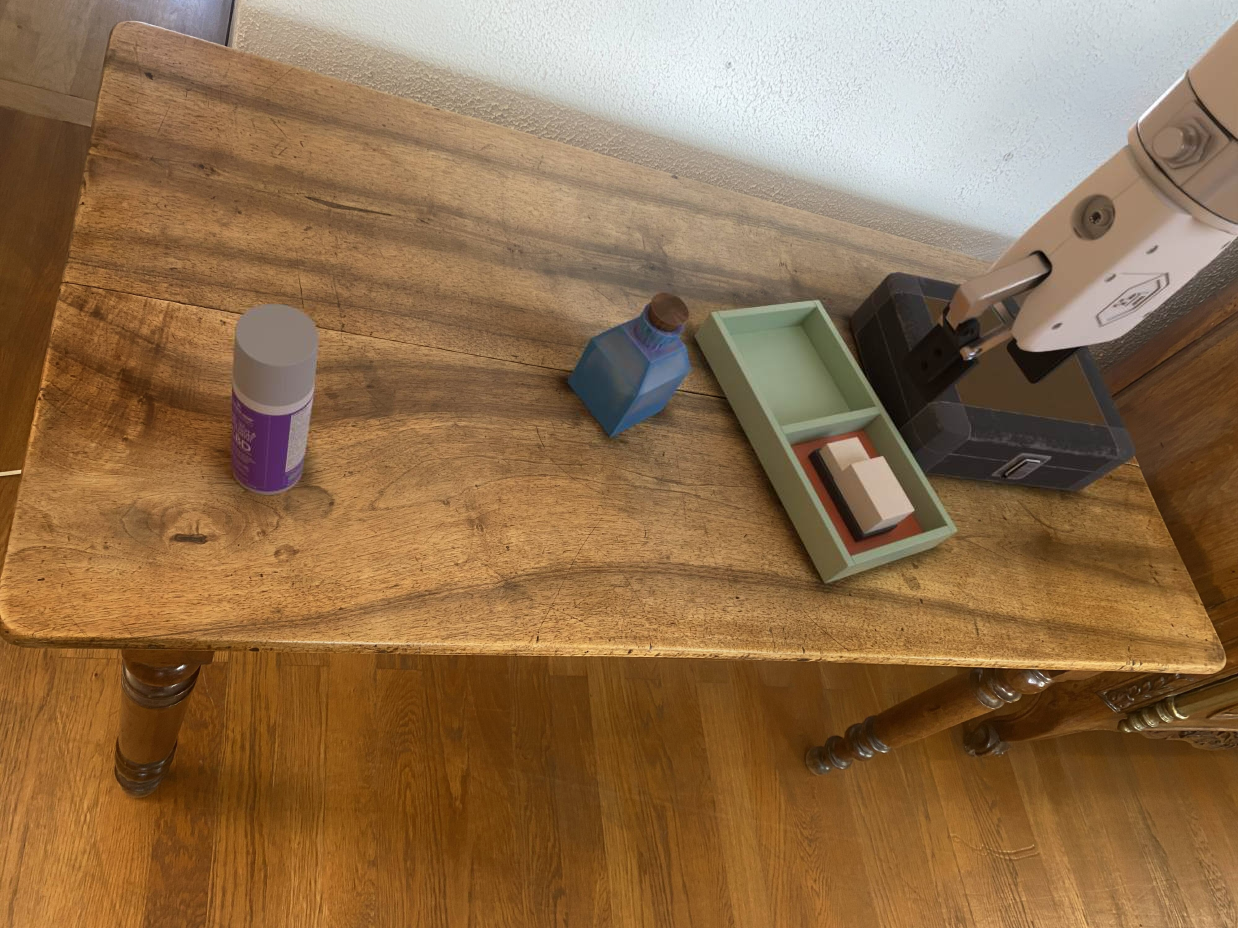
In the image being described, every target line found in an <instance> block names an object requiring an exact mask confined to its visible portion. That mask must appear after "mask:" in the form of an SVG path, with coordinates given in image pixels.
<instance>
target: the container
mask: <svg viewBox="0 0 1238 928" xmlns="http://www.w3.org/2000/svg"><path fill="white" fill-rule="evenodd" d="M319 335H320V334H319V330H318V328H317V326H316V324H315V322H314V321H313V320H312V319H311V317H309V316H308V314H306V313H304V312H303V311H301V310H300V309H298V308H296V307H293V306H290V305H287V304H283V303H282V304H280V303H264V304H259V305H256V306H253V307H251V308H250V309H248V310H246V311H245V312H244V313H242V314H241V316H240V317H238V320H237V321H236V324H235V328H234V343H233V345H234V346H233V361H232V374H231V375H232V378H231V452H230V453H231V462H230V463H231V473H232V475H233V477H234V479H235V481H236V482H237V483H238V485H240V486H241V487H242V488H243V489H245V490H247V491H249V492H250V493H253V494H258V495H263V496H272V495H273V496H274V495H278V494H282V493H284V492H287V491H288V490H290V489H292V488H294V486H295V485H296V484H297V483H298V482H299V480H300V479H301V477H302V474H303V470H304V463H305V457H306V450H307V442H308V436H309V430H310V423H311V415H312V409H313V408H312V407H313V401H314V394H315V383H316V376H317V375H316V374H317V363H318V352H319V341H320V336H319Z"/></svg>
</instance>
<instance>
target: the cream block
mask: <svg viewBox="0 0 1238 928" xmlns="http://www.w3.org/2000/svg"><path fill="white" fill-rule="evenodd" d="M808 457H809V459H810V461H811V463H812V465H813V466H814V468H815V470H816V472H817V474H818V476H819V477H820V479H821V481H822V483H823V485H824V486H825V488H826V490H827V492H828V494H829V496H830V497H831V499H832V501H833V503H834V505H835V506H836V508H837V510H838V512H839V514H840V515H841V517H842V519H843V521H844V523H845V525H846V526H847V528H848V530H849V532H850V534H851V535H852V537H853V539H854V541H855V542H859V541H862V540H866V539H869V538H872V537H875V536H879V535H882V534H885V533H888V532H891V531H892V530H893V529H895V528H896V527H897V526H898V525H897V523H898V522H900V521H901V520H902V519H904V518H905V517H907V516H908V515H909V514H911V513H912V512H913V511H914V508H913V506H912V505H911V503H910V501H909V499H908V498H907V496H906V494H905V493H904V491H903V489H902V488H901V486H900V484H899V482H898V481H897V479H896V477H895V476H894V474H893V472H892V471H891V469H890V467H889V465H888V464H887V462H886V460H885V459H884V457H883V456H880V457H876V458H872V459H870V458H869V456H868V455H867V453H866V451H865V450H864V448H863V446H862V444H861V443H860V441H859V439H858V437H855V438H850V439H846V440H841V441H837V442H833V443H828V444H826V445H825V446H824V447H823V448H819V449H815V450H814V451H813V452H812V453H810V454H809V455H808Z"/></svg>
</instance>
